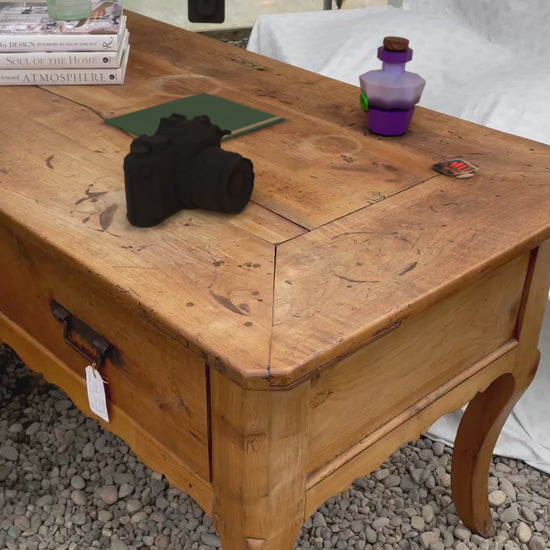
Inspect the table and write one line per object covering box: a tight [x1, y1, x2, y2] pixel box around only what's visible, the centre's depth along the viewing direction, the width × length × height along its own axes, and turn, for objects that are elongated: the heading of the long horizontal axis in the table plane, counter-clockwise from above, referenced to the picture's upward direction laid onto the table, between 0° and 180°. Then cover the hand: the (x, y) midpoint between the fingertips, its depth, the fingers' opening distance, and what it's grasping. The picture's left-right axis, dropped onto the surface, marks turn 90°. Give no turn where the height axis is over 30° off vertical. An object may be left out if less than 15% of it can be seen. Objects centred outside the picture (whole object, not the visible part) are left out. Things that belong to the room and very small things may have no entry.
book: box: [103, 92, 285, 143], centre depth 104 cm, size 18×16×1 cm
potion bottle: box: [358, 35, 427, 138], centre depth 100 cm, size 9×9×12 cm
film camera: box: [122, 113, 256, 229], centre depth 79 cm, size 15×10×9 cm, turn 150°
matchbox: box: [431, 157, 479, 179], centre depth 91 cm, size 5×5×1 cm
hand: (207, 11), depth 72 cm, fingers open, 9 cm apart
